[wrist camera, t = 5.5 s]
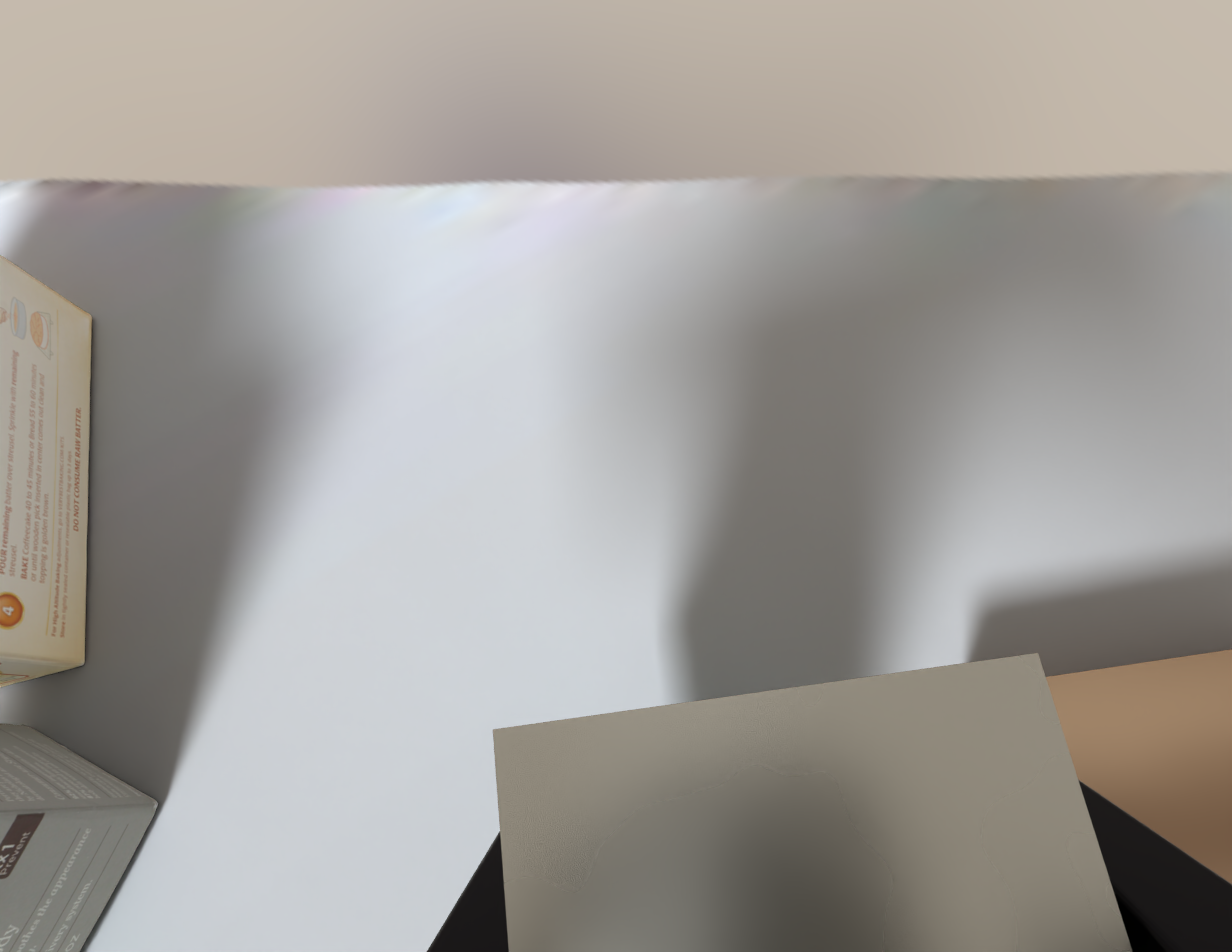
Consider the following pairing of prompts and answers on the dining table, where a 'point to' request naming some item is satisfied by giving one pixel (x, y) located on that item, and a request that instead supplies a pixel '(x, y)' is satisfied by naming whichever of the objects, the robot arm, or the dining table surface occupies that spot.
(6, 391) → the coffeecake box
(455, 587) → the dining table surface
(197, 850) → the dining table surface
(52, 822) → the skincare box
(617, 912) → the tea tin
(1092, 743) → the walnut block
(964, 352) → the dining table surface
